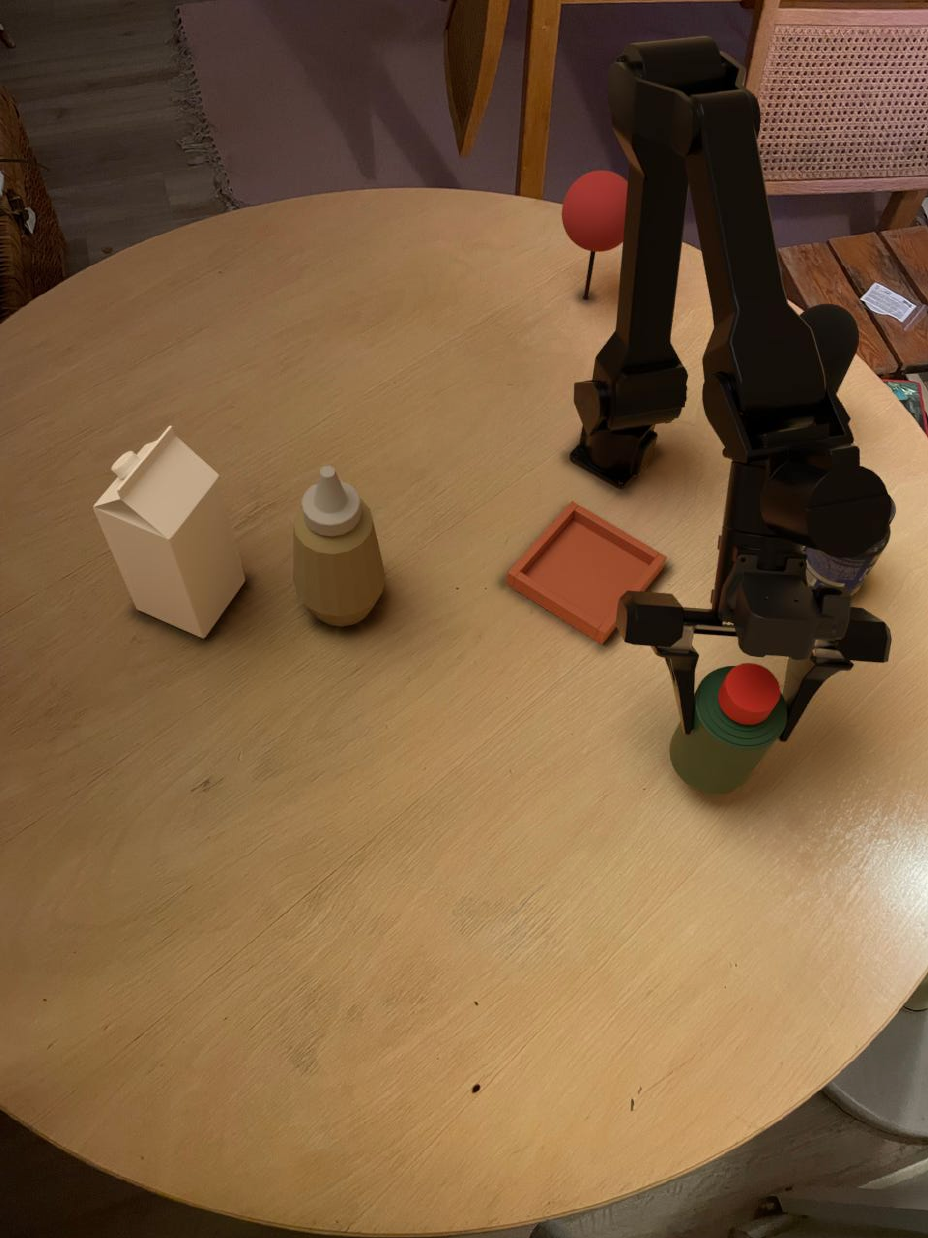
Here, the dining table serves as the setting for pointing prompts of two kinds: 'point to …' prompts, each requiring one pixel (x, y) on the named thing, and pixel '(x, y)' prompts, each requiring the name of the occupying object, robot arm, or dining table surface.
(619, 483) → the robot arm
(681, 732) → the bottle
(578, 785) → the dining table surface
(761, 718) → the cap
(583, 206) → the lollipop
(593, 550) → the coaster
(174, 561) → the milk carton
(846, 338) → the decorative object
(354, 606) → the squeeze bottle
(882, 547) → the pill bottle
